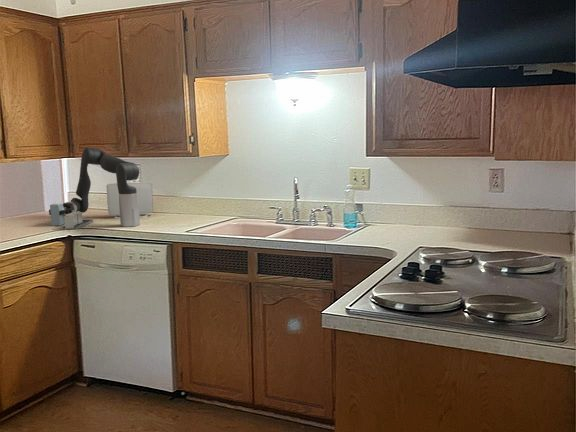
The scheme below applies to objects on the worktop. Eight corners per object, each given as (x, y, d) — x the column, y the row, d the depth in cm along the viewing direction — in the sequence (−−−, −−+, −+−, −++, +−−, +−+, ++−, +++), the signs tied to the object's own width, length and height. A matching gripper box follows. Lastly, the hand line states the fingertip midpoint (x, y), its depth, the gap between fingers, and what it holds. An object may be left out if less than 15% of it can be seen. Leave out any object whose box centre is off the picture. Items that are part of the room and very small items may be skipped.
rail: (79, 222, 325) (78, 209, 324) (92, 222, 325) (92, 208, 324) (62, 229, 302) (61, 215, 301) (77, 229, 302) (76, 214, 301)
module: (56, 223, 319) (54, 202, 318) (64, 223, 319) (62, 202, 318) (51, 225, 314) (49, 204, 312) (60, 225, 313) (58, 204, 312)
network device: (108, 219, 335) (106, 184, 332) (108, 217, 344) (106, 183, 341) (154, 216, 343) (152, 182, 340) (152, 214, 351) (150, 181, 348)
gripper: (54, 202, 329) (41, 206, 312) (79, 202, 329) (67, 206, 312) (55, 215, 330) (42, 220, 314) (80, 215, 330) (68, 219, 313)
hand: (55, 213), depth 313 cm, fingers closed on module, 4 cm apart
